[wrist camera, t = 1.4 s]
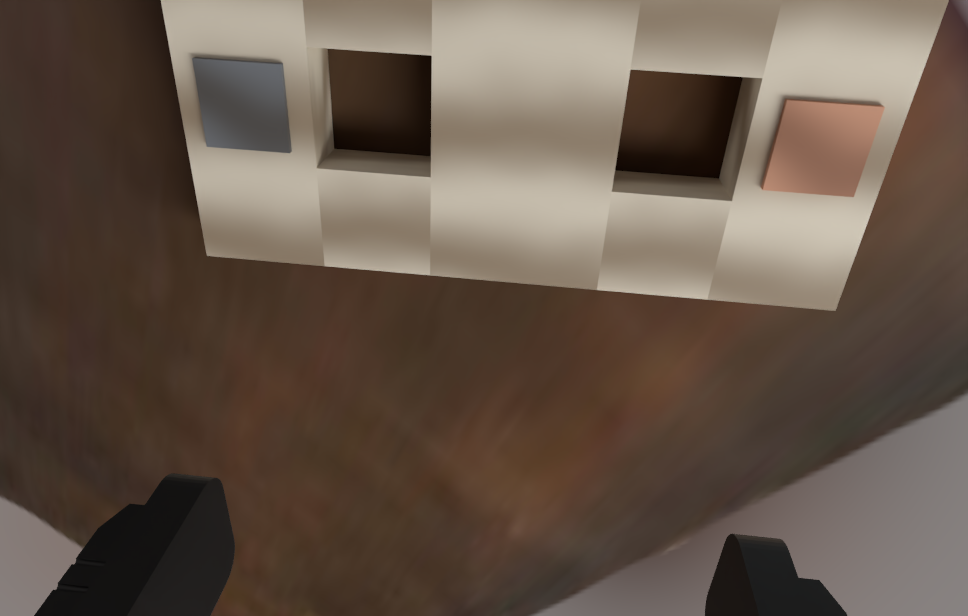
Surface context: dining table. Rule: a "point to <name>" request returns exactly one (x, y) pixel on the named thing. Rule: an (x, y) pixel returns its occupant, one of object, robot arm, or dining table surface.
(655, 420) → the dining table surface
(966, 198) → the dining table surface
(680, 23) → the socket block
